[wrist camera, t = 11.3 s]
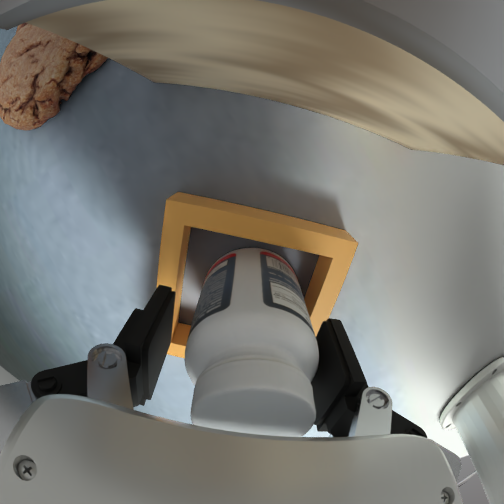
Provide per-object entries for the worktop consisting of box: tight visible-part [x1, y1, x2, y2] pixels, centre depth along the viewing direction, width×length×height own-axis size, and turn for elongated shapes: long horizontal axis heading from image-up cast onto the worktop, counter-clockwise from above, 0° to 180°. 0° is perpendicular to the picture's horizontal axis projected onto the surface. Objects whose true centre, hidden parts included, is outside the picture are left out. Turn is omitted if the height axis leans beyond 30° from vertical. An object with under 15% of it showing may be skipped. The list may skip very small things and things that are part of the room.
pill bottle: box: [185, 248, 319, 437], centre depth 11 cm, size 5×5×9 cm
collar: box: [157, 192, 358, 358], centre depth 15 cm, size 9×9×2 cm
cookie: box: [0, 23, 108, 130], centre depth 9 cm, size 10×11×3 cm
